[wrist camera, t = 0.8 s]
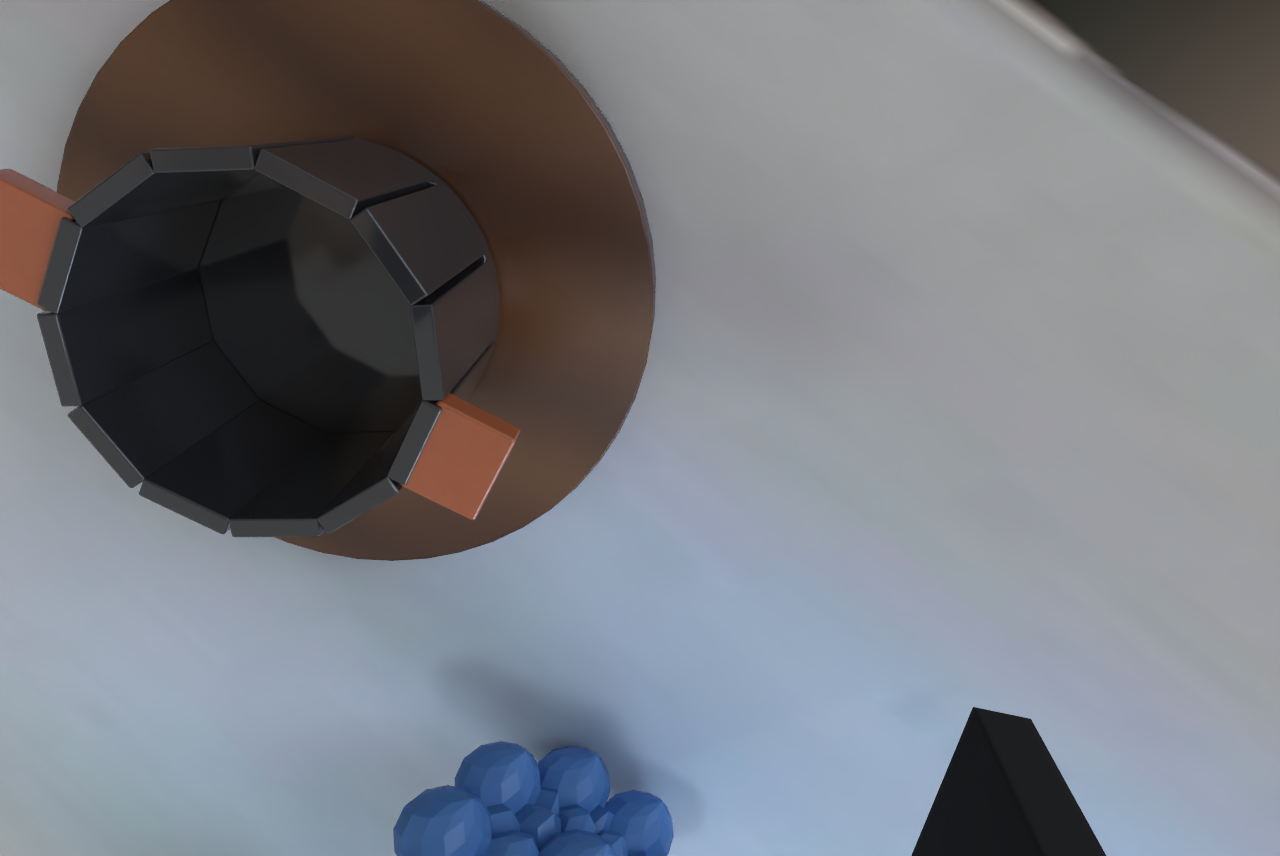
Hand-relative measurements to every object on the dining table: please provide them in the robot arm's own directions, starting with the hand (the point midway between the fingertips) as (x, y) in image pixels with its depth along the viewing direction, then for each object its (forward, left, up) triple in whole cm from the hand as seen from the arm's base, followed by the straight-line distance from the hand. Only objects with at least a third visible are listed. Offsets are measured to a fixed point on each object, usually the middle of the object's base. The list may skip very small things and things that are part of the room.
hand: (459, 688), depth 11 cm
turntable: (+2, -7, -18) cm, 19 cm away
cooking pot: (+2, -7, -16) cm, 17 cm away
